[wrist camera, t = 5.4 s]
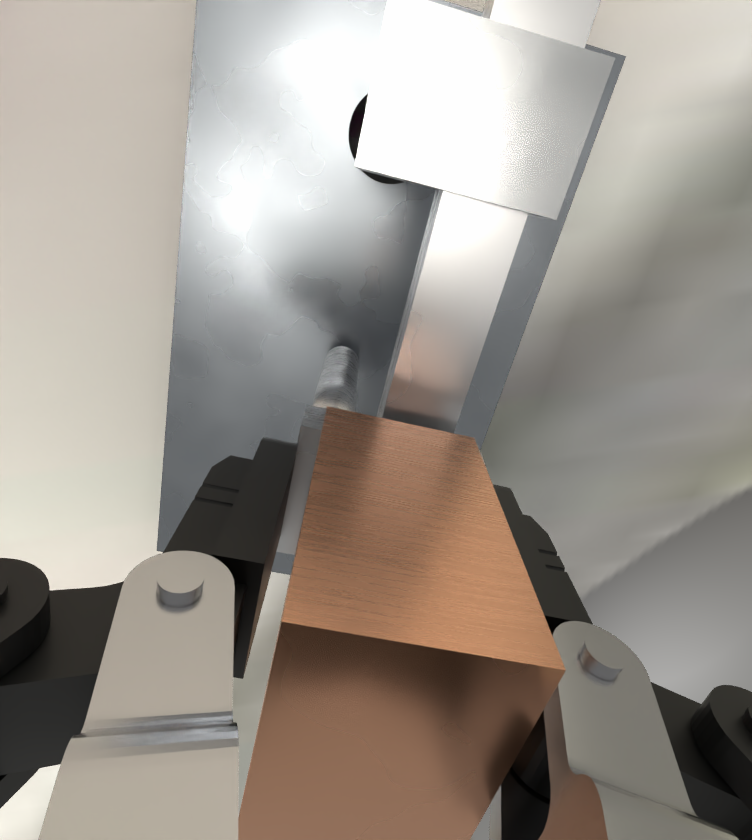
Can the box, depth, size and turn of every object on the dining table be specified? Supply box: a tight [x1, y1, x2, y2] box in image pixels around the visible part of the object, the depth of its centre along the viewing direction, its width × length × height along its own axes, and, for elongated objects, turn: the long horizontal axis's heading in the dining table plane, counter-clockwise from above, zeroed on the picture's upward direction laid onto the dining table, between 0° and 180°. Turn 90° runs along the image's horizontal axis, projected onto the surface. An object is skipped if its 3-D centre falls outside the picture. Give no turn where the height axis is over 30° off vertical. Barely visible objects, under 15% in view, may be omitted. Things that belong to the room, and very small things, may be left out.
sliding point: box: [238, 346, 566, 840], centre depth 12 cm, size 4×4×13 cm
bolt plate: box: [157, 0, 626, 575], centre depth 15 cm, size 21×12×9 cm, turn 166°
